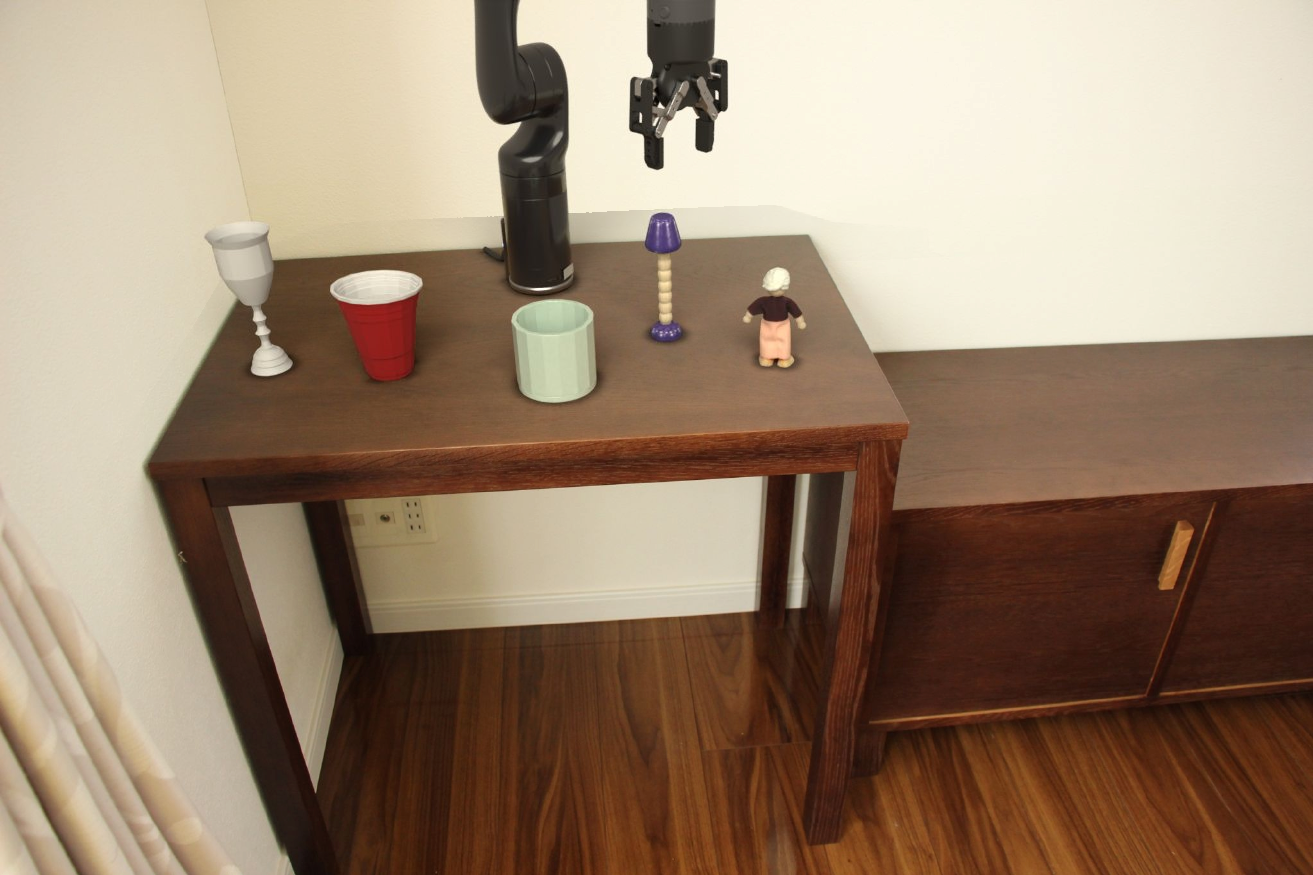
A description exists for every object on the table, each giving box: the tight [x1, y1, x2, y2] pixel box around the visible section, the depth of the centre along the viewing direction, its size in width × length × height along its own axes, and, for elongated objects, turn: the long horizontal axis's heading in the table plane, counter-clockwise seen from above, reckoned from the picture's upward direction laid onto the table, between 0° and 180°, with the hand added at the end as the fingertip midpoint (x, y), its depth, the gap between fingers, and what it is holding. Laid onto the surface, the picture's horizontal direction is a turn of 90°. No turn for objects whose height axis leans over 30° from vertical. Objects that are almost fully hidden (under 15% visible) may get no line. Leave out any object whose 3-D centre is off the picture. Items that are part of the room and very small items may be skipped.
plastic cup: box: [329, 269, 423, 382], centre depth 121 cm, size 11×11×12 cm
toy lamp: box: [644, 212, 683, 343], centre depth 127 cm, size 5×5×17 cm
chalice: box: [203, 220, 294, 377], centre depth 121 cm, size 7×7×18 cm
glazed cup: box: [510, 298, 598, 404], centre depth 119 cm, size 10×10×9 cm
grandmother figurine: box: [742, 266, 807, 368], centre depth 122 cm, size 8×4×13 cm, turn 89°
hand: (679, 159), depth 117 cm, fingers open, 8 cm apart
